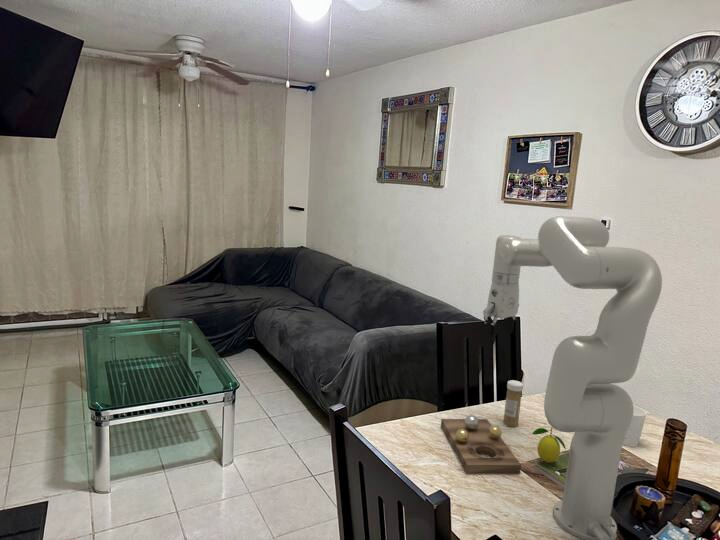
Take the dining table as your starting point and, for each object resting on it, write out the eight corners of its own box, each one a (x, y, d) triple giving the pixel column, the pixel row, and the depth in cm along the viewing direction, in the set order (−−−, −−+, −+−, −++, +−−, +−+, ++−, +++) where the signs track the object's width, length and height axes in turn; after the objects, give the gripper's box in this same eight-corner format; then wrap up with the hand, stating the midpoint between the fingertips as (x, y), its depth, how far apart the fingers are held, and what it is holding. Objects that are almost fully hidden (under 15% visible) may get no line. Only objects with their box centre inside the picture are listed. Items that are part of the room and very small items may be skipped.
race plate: (520, 473, 122) (521, 464, 122) (466, 474, 121) (467, 464, 120) (486, 426, 146) (486, 419, 145) (440, 426, 144) (441, 418, 144)
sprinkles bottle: (521, 425, 148) (526, 384, 146) (511, 428, 146) (516, 386, 143) (509, 419, 152) (514, 378, 150) (499, 422, 149) (504, 381, 147)
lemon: (528, 457, 130) (533, 422, 129) (546, 454, 132) (550, 420, 131) (546, 471, 124) (551, 435, 123) (564, 467, 126) (569, 432, 125)
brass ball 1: (469, 445, 130) (471, 433, 129) (457, 445, 129) (458, 433, 129) (465, 438, 133) (466, 426, 133) (453, 438, 133) (454, 426, 132)
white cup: (610, 443, 141) (615, 410, 139) (610, 431, 148) (615, 401, 146) (641, 451, 137) (646, 418, 135) (640, 439, 144) (645, 407, 142)
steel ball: (480, 432, 137) (481, 419, 136) (466, 432, 137) (467, 419, 136) (475, 425, 141) (476, 412, 140) (462, 425, 141) (463, 412, 140)
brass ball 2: (502, 441, 133) (504, 429, 132) (490, 441, 133) (491, 429, 132) (497, 434, 136) (499, 423, 136) (485, 434, 136) (487, 423, 135)
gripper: (500, 283, 132) (493, 343, 136) (532, 278, 144) (525, 333, 147) (477, 278, 138) (470, 335, 141) (510, 273, 149) (503, 326, 152)
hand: (498, 334), depth 144 cm, fingers open, 9 cm apart
